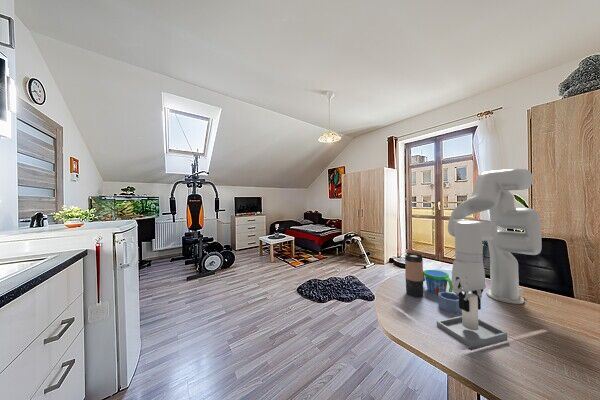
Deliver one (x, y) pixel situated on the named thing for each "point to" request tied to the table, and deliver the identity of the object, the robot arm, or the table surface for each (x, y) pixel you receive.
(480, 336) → the tray
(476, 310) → the peg
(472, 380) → the table surface
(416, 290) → the travel mug
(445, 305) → the cup
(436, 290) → the snack cup
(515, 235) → the robot arm
